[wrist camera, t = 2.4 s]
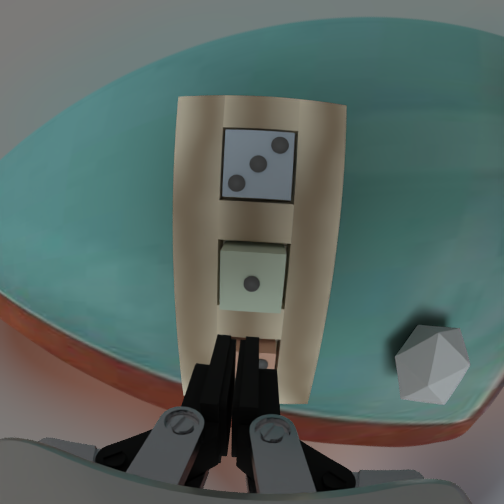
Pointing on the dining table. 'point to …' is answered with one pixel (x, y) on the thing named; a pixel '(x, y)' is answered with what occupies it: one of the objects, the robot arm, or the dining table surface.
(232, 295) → the button one
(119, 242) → the dining table surface
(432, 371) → the die
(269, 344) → the button two
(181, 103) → the button board
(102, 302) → the dining table surface
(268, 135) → the button three
